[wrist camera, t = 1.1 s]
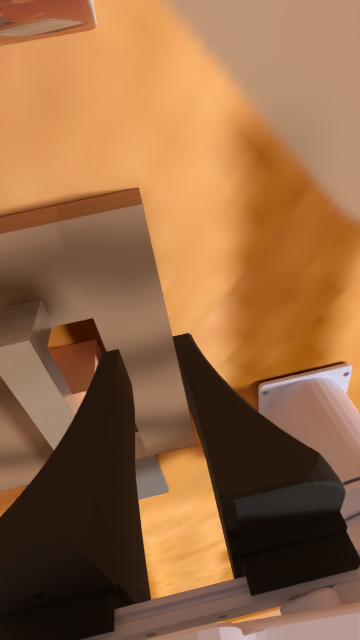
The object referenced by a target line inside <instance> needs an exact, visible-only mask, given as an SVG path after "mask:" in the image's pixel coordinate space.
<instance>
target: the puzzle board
mask: <svg viewBox="0 0 360 640" xmlns="http://www.w3.org/2000/svg"><path fill="white" fill-rule="evenodd" d="M36 300H42V302H43V304H44V306H45V308H46V310H47V312H48V314H49V316H50V318H51V320H52V322H53V323H52V327H55V326H59V325H64V324H68V323H73V322H77V321H82V320H86V319H91V318H93V319H94V322H95V324H96V327H97V329H98V332H99V334H100V337H101V339H102V341H103V344H104V346H105V349H106V351H111V350H116V349H119V351H120V354H121V356H122V359H123V362H124V364H125V367H126V370H127V373H128V375H129V378H130V381H131V383H132V389H133V397H134V405H135V459H139V458H143V457H148V456H152V455H156V454H160V453H165V452H169V451H173V450H177V449H181V448H186V447H190V446H194V445H197V444H196V440H195V435H194V431H193V426H192V422H191V418H190V413H189V409H188V404H187V400H186V395H185V391H184V387H183V382H182V378H181V373H180V369H179V364H178V360H177V355H176V351H175V347H174V342H173V338H172V333H171V329H170V324H169V320H168V316H167V311H166V307H165V302H164V298H163V293H162V289H161V285H160V280H159V276H158V271H157V267H156V262H155V258H154V254H153V249H152V245H151V240H150V236H149V231H148V227H147V223H146V218H145V214H144V209H143V205H142V200H141V196H140V191H139V188H135V189H131V190H126V191H121V192H117V193H112V194H107V195H102V196H98V197H93V198H88V199H83V200H79V201H74V202H69V203H64V204H60V205H55V206H50V207H45V208H41V209H36V210H31V211H27V212H22V213H17V214H12V215H8V216H3V217H0V311H1V308H4V307H9V306H13V305H18V304H22V303H27V302H31V301H36ZM53 451H54V450H53V448H52V447H51V445H50V444H49V443H48V441H47V440H46V438H45V437H44V436H43V434H42V433H41V431H40V430H39V429H38V427H37V426H36V425H35V423H34V422H33V420H32V419H31V418H30V416H29V415H28V413H27V412H26V411H25V409H24V408H23V406H22V405H21V404H20V402H19V401H18V399H17V398H16V397H15V395H14V394H13V393H12V391H11V390H10V388H9V387H8V386H7V384H6V383H5V381H4V380H3V379H2V377H1V376H0V491H5V490H9V489H13V488H17V487H21V486H26V485H29V483H30V482H31V481H32V480H33V478H34V477H35V476H36V475H37V473H38V472H39V471H40V469H41V468H42V467H43V465H44V464H45V463H46V461H47V460H48V458H49V457H50V455H51V454H52V452H53Z"/></svg>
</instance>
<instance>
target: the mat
mask: <svg viewBox="0 0 360 640" xmlns="http://www.w3.org/2000/svg"><path fill="white" fill-rule="evenodd" d="M135 469H136V482H137V492H138V500H139V499H143V498H147V497H151V496H155V495H159V494H164V493H168V492H169V491H168V487H167V484H166V481H165V479H164V476H163V473H162V471H161V468H160V465H159V463H158V460H157V457H156V455H152V456H148V457H143V458H139V459H135Z"/></svg>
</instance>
